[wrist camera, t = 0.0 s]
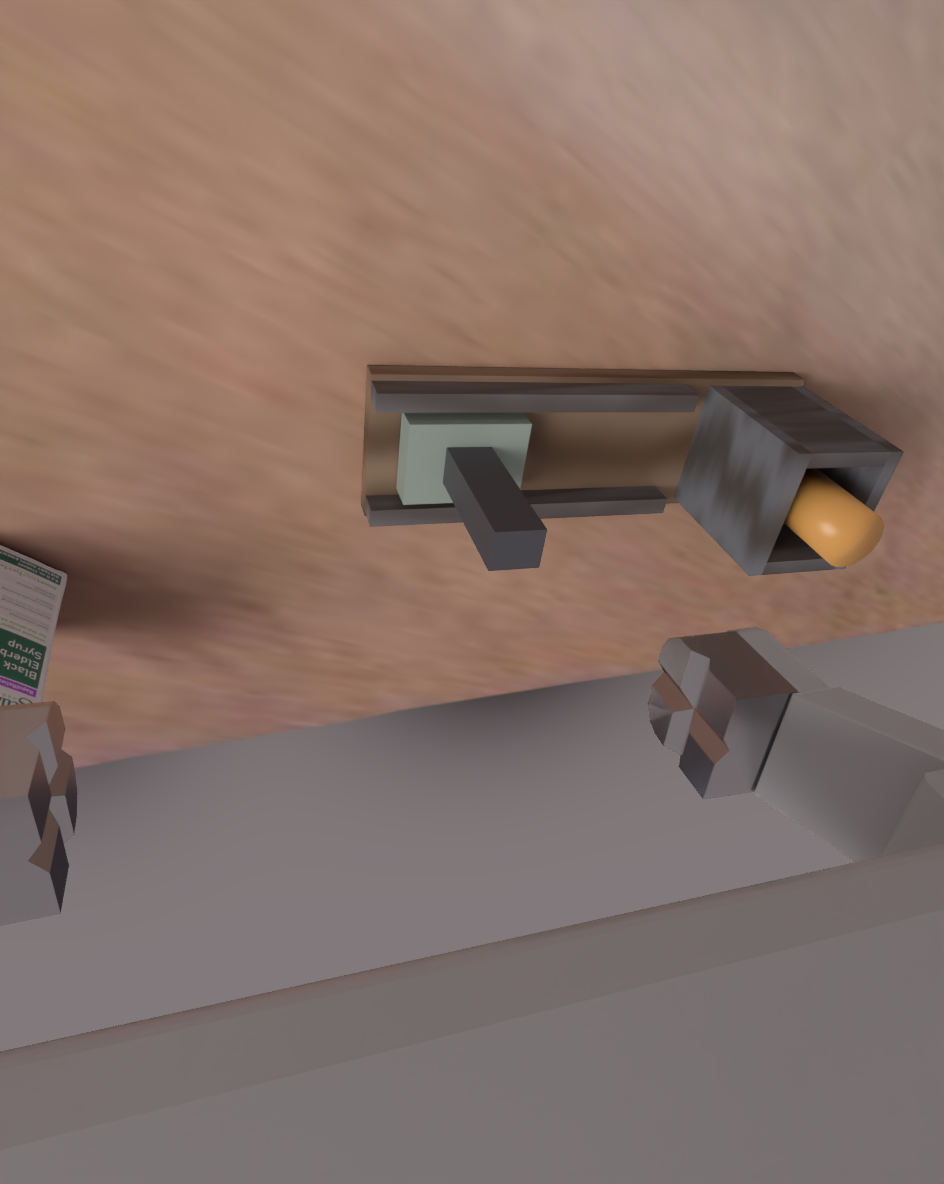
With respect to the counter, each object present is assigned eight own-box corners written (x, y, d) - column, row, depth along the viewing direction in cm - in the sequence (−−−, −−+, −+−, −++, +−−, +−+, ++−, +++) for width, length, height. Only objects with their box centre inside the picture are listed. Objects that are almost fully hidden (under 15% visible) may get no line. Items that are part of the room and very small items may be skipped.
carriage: (402, 409, 48) (452, 509, 39) (520, 409, 51) (594, 503, 41) (396, 488, 51) (441, 596, 42) (507, 484, 54) (574, 586, 45)
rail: (367, 365, 48) (409, 453, 38) (793, 372, 57) (907, 444, 48) (361, 504, 53) (396, 609, 44) (748, 490, 63) (842, 574, 54)
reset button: (782, 466, 50) (841, 514, 46) (831, 465, 51) (894, 511, 47) (761, 519, 53) (815, 569, 48) (809, 516, 54) (866, 565, 49)
